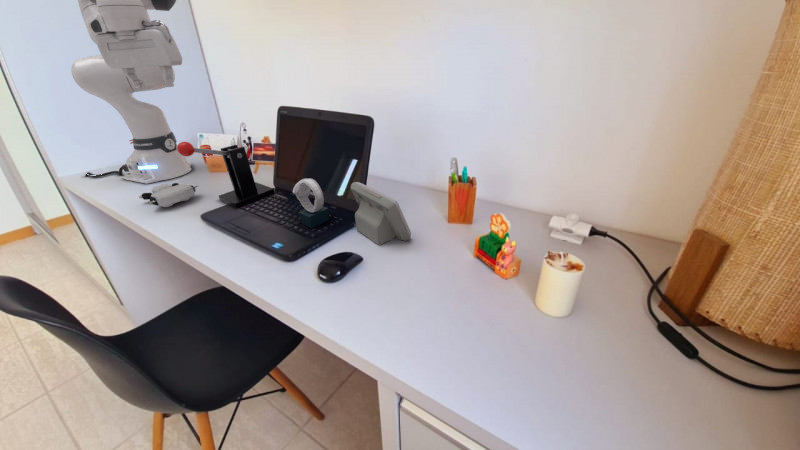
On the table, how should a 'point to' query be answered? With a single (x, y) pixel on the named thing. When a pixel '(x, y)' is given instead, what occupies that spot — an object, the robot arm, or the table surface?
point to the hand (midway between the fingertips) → (154, 87)
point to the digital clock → (378, 215)
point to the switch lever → (197, 150)
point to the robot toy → (169, 194)
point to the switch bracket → (242, 179)
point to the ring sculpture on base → (311, 213)
